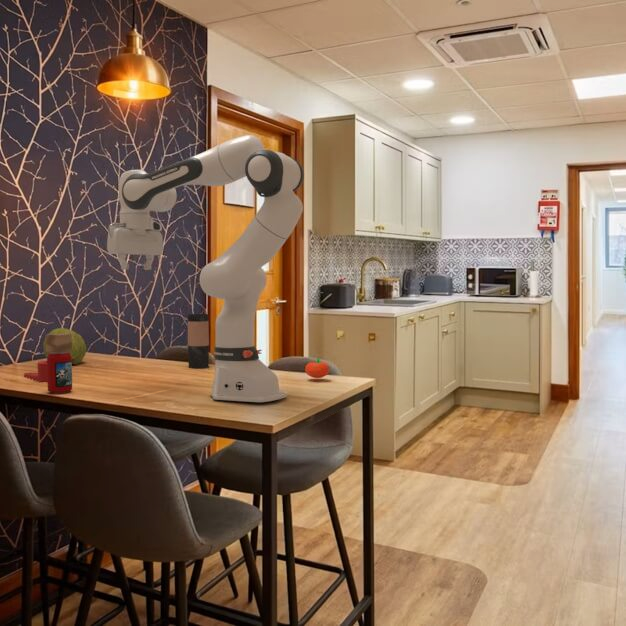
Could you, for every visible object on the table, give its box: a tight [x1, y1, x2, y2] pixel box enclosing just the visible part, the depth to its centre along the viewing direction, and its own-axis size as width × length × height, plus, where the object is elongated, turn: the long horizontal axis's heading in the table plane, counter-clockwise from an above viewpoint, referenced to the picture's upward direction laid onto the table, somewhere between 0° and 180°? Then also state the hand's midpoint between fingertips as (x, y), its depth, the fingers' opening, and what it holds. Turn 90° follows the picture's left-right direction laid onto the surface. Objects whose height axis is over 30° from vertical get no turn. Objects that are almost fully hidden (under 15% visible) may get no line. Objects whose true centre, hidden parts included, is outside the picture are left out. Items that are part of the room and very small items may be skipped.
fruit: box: [42, 327, 88, 365], centre depth 248 cm, size 16×14×15 cm
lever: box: [23, 360, 47, 383], centre depth 218 cm, size 18×9×7 cm, turn 60°
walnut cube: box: [45, 333, 72, 353], centre depth 196 cm, size 5×5×5 cm
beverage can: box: [46, 351, 73, 395], centre depth 197 cm, size 7×7×12 cm
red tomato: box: [304, 358, 330, 379], centre depth 225 cm, size 7×8×6 cm
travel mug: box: [187, 313, 210, 370], centre depth 247 cm, size 8×8×20 cm
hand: (136, 269), depth 207 cm, fingers open, 8 cm apart
